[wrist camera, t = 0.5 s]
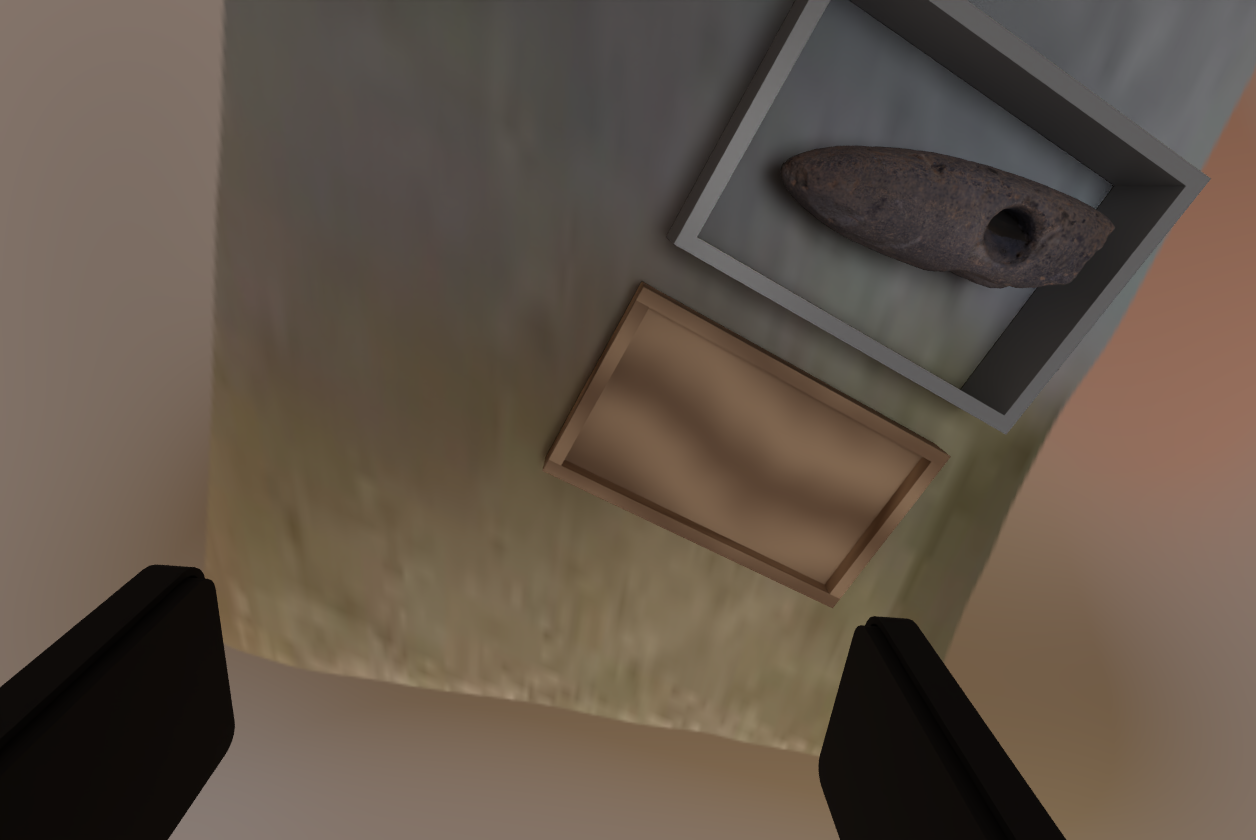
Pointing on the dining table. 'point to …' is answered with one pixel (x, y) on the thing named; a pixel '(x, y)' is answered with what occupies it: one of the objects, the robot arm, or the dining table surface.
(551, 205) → the dining table surface
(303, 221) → the dining table surface
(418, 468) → the dining table surface
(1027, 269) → the perforated stone tool
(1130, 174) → the charcoal bin
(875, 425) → the walnut tray
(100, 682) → the robot arm
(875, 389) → the dining table surface
